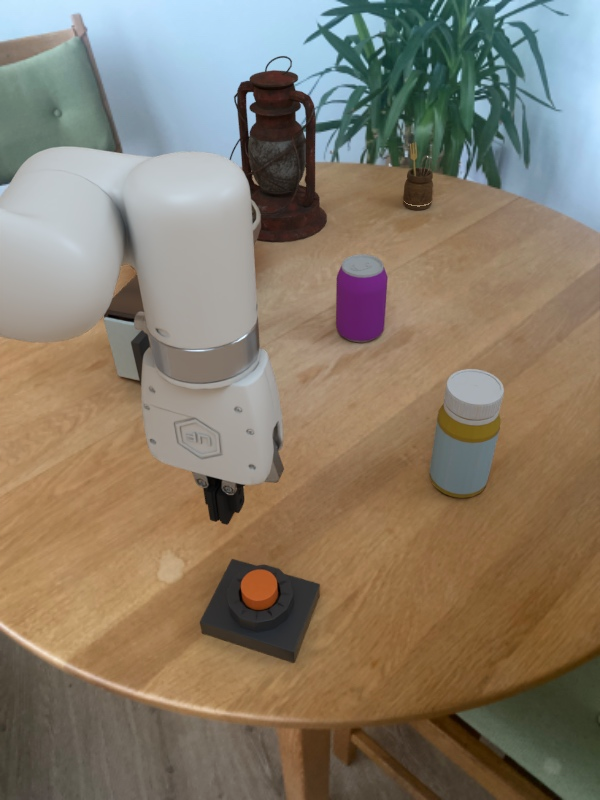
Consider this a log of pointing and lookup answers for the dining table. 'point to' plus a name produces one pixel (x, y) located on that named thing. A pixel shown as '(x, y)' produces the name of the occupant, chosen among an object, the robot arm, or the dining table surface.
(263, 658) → the dining table surface
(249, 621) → the switch box
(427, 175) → the utensil holder
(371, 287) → the beverage can
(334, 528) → the dining table surface
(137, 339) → the door
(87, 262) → the robot arm
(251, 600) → the button
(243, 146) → the lantern
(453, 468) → the bottle
